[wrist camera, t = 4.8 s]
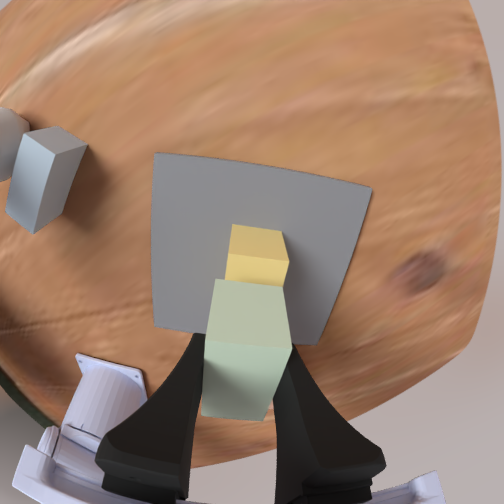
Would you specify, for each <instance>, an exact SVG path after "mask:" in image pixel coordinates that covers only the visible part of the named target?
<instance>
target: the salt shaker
mask: <svg viewBox="0 0 504 504" xmlns="http://www.w3.org/2000/svg"><path fill="white" fill-rule="evenodd" d="M26 132H30V125H29V122H28V121H26V120H25V119H23V118H22V117H21V116H19V115H18V114H17V113H15V112H14V111H13V110H12V109H8V108H4V107H0V182H2V181H5V180H7V179H9V178H10V177H11V176H12V174H13V170H14V166H15V162H16V158H17V154H18V151H19V147H20V144H21V141H22V137H23V134H24V133H26Z"/></svg>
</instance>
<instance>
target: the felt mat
mask: <svg viewBox="0 0 504 504" xmlns="http://www.w3.org/2000/svg"><path fill="white" fill-rule="evenodd" d="M371 193H372V188H370V187H368V186H364V185H360V184H356V183H352V182H347V181H343V180H339V179H334V178H330V177H325V176H320V175H315V174H311V173H306V172H300V171H295V170H290V169H284V168H279V167H273V166H267V165H261V164H254V163H248V162H241V161H234V160H227V159H219V158H211V157H202V156H193V155H183V154H172V153H159V152H157V153H155V154H154V167H153V184H152V208H151V273H152V297H153V314H154V327H159V328H165V329H171V330H177V331H183V332H189V333H202V334H206V332H207V326H208V320H209V314H210V308H211V302H212V296H213V290H214V285H215V279H222V280H225V274H226V266H227V259H228V251H229V244H230V237H231V230H232V224H235V225H242V226H249V227H256V228H263V229H270V230H276V231H281V232H282V235H283V239H284V243H285V247H286V251H287V255H288V259H289V265H288V269H287V273H286V276H285V280H284V284H283V293H284V299H285V306H286V312H287V318H288V324H289V330H290V337H291V343H293V344H300V345H317V344H318V341H319V339H320V337H321V335H322V332H323V330H324V327H325V325H326V323H327V320H328V318H329V315H330V313H331V310H332V308H333V305H334V303H335V300H336V298H337V295H338V292H339V290H340V287H341V285H342V282H343V279H344V276H345V274H346V271H347V268H348V265H349V262H350V260H351V257H352V254H353V251H354V248H355V245H356V242H357V239H358V236H359V233H360V229H361V226H362V223H363V220H364V217H365V213H366V210H367V207H368V203H369V200H370V196H371Z"/></svg>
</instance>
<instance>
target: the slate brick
mask: <svg viewBox="0 0 504 504" xmlns="http://www.w3.org/2000/svg"><path fill="white" fill-rule="evenodd" d="M87 145H88V144H86V143H85V142H83V141H82V140H80V139H78V138H77V137H75V136H74V135H72V134H70V133H69V132H67V131H66V130H64V129H62V128H61V127H59V126H54V127H49V128H44V129H40V130H35V131H31V132H26V133H24V134H23V137H22V141H21V144H20V147H19V151H18V154H17V158H16V162H15V166H14V170H13V174H12V178H11V183H10V188H9V193H8V198H7V204H6V210H5V212H6V213H7V214H8V215H9V216H11V217H12V218H13V219H14V220H15V221H17V222H18V223H19V224H20V225H22V226H23V227H24V228H25V229H27V230H28V231H29V232H30V233H32V234H35V233H36V232H37V231H39V230H40V229H41V228H43V227H44V226H45V225H47V224H48V223H49V222H51V221H52V220H54V219H55V218H56V217H58V216H59V215H61V214H62V212H63V208H64V205H65V202H66V199H67V196H68V193H69V191H70V188H71V185H72V182H73V179H74V177H75V174H76V172H77V169H78V167H79V164H80V162H81V159H82V157H83V154H84V152H85V150H86V147H87Z"/></svg>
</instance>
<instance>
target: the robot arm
mask: <svg viewBox="0 0 504 504" xmlns="http://www.w3.org/2000/svg"><path fill="white" fill-rule="evenodd" d="M205 338H206V334H202V333H194V334H193V336H192V338H191V341H190V343H189V345H188V347H187V348H186V350H185V352H184V354H183V355H182V357H181V359H180V360H179V362H178V363H177V365H176V366H175V368H174V369H173V371H172V372H171V373H170V375H169V376H168V377H167V379H166V380H165V381H164V382H163V384H162V385H161V386H160V387H159V388H158V389H157V391H156V392H155V393H154V394H153V395H152V396H151V397H150V398H149V399H147V394H146V390H145V385H144V380H143V375H142V372H141V371H140V370H139V369H136V368H131V367H127V366H123V365H119V364H115V363H111V362H107V361H103V360H100V359H96V358H93V357H89V356H86V355H82V354H79V353H78V354H76V359H77V362H78V364H79V367H80V369H81V372H82V374H83V376H82V378H81V381H80V383H79V385H78V387H77V389H76V392H75V394H74V396H73V398H72V401H71V403H70V405H69V408H68V410H67V413H66V415H65V417H64V420H63V422H62V425H61V427H59V428H57V427H55V426H52V427H48V428H46V430H45V432H44V434H43V436H42V438H41V440H40V443H39V445H38V448H37V449H35V448H33V447H31V446H30V445H25V448H24V450H23V453H22V456H21V458H20V461H19V464H18V467H17V470H16V473H15V476H14V479H13V482H12V486H13V487H15V488H17V489H18V490H20V491H21V492H23V493H25V494H26V495H28V496H30V497H31V498H33V499H35V500H37V501H38V502H40V503H41V504H206V503H197V502H190V501H185V500H186V499H187V498H188V491H189V478H190V466H191V456H192V446H193V436H194V428H195V422H196V417H197V413H198V408H199V404H200V400H201V395H202V387H203V368H204V351H205ZM272 400H273V407H274V415H275V423H276V433H277V470H276V490H275V503H274V504H446V501H445V498H444V494H443V491H442V487H441V484H440V481H439V477H438V475H437V471H436V470H434V471H432V472H429V473H426V474H423V475H421V476H418V477H416V478H414V479H412V480H411V481H409V482H408V483H405V484H403V485H399V486H395V487H392V488H389V489H385V490H381V491H378V492H373V493H371V490H370V486H371V485H372V477H374V476H376V475H377V474H379V473H380V472H381V471H383V470H384V469H385V467H386V462H385V458H384V455H383V452H382V450H381V448H380V447H378V446H377V445H375V444H374V443H372V442H371V441H369V440H368V439H367V438H365V437H364V436H363V435H361V434H360V433H359V432H358V431H357V430H355V429H354V428H353V427H352V426H351V425H350V424H349V423H348V422H347V421H346V420H345V419H344V418H343V417H342V416H341V415H340V414H339V413H338V412H337V411H336V410H335V408H334V407H333V406H332V405H331V404H330V402H329V401H328V400H327V399H326V397H325V396H324V395H323V393H322V392H321V390H320V389H319V387H318V386H317V384H316V383H315V381H314V380H313V378H312V376H311V375H310V373H309V372H308V370H307V368H306V366H305V364H304V363H303V361H302V359H301V357H300V355H299V353H298V351H297V349H296V347H295V345H294V344H293V343H292V351H291V354H290V356H289V359H288V361H287V364H286V367H285V369H284V372H283V374H282V377H281V379H280V382H279V384H278V387H277V389H276V392H275V394H274V396H273V399H272Z"/></svg>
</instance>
